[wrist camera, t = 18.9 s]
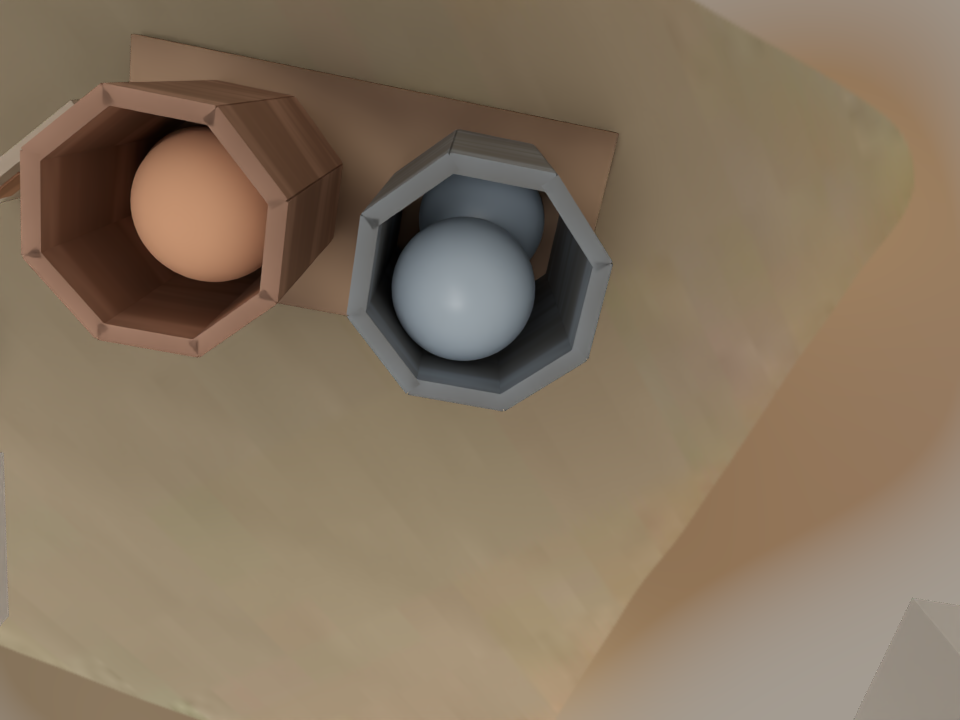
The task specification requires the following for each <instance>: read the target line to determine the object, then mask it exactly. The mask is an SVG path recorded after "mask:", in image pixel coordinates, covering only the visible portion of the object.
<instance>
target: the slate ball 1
mask: <svg viewBox="0 0 960 720" xmlns="http://www.w3.org/2000/svg"><path fill="white" fill-rule="evenodd" d="M462 216H463V217H474V218H480V219H484V220H487V221H489V222H492V223H494V224H496V225H498V226H500V227H502V228H503V229H505V230H506V231H507V232H508V233H509V234H511V235H512V236H513V237H514V238H515V239H516V240H517V241H518V243H519V244H520V245H521V246H522V248H523V249H524V251H525V253H526V254H527V256H528V258H529V260H530V259H531V258H532V256H533V255H534V253H535V252H536V250H537V248H538V246H539V243H540V241H541V238H542V234H543V230H544V209H543V204H542V200H541V197H540V195H539V193H538V190H533V189H528V188H523V187H518V186H513V185H508V184H503V183H498V182H493V181H488V180H483V179H478V178H473V177H468V176H463V175H458V174H452V175H451V176H450V177H448V178H447V179H445V180H444V181H442V182H441V183H439V184H438V185H437V186H435V187H434V188H432V189H431V190H429V191H428V192H426V193H425V194H424V196H423V198H422V201H421V205H420V211H419V228H420V231H421V230H423V229H424V228H425V227H427V226H429V225H431V224H433V223H435V222H437V221H440V220H443V219H447V218H452V217H462Z"/></svg>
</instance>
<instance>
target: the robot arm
mask: <svg viewBox="0 0 960 720" xmlns="http://www.w3.org/2000/svg"><path fill="white" fill-rule="evenodd" d="M8 616H9V611H8V579H7V547H6V515H5V483H4V453H1V452H0V626H1V624H2V623H3V622H4V621H5V620H6V618H7V617H8ZM854 720H960V605H954V604H948V603H942V602H935V601H929V600H923V599H917V598H912V600H911V602H910V604H909V606H908V608H907V610H906V612H905V614H904V616H903V618H902V620H901V622H900V625H899V627H898V629H897V631H896V633H895V635H894V637H893V639H892V641H891V643H890V645H889V647H888V649H887V652H886V653H885V656H884V658H883V660H882V662H881V664H880V666H879V668H878V670H877V672H876V674H875V676H874V678H873V680H872V682H871V685H870V687H869V689H868V691H867V693H866V695H865V697H864V699H863V701H862V703H861V705H860V708H859V710H858V711H857V714H856V716H855V718H854Z"/></svg>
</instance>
